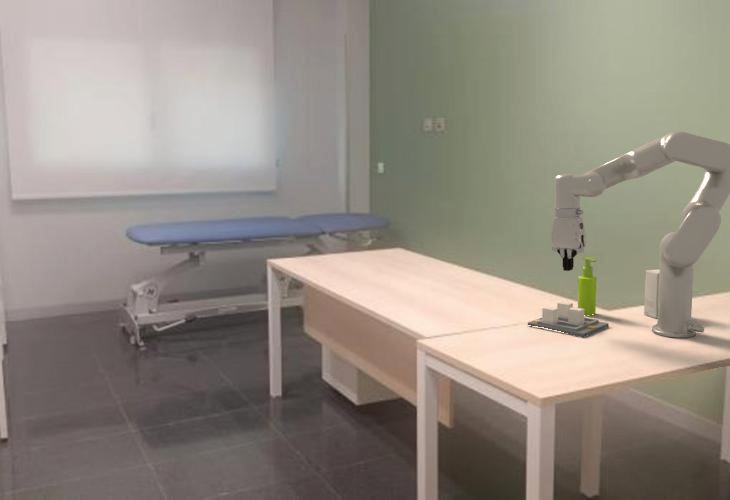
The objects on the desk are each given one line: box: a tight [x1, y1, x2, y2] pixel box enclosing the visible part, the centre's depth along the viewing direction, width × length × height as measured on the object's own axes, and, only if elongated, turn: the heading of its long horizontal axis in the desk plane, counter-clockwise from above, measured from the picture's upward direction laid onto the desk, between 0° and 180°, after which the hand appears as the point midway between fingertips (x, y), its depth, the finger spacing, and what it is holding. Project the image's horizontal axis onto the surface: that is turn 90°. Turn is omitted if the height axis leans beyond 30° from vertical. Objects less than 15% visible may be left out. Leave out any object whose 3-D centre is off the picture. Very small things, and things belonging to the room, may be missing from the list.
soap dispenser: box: [577, 256, 597, 315], centre depth 236 cm, size 6×7×20 cm
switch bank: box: [527, 316, 610, 338], centre depth 223 cm, size 20×16×2 cm
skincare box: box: [643, 269, 660, 319], centre depth 232 cm, size 8×7×16 cm
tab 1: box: [541, 306, 558, 324], centre depth 222 cm, size 4×3×5 cm
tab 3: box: [568, 306, 585, 325], centre depth 221 cm, size 4×3×5 cm
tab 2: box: [556, 301, 574, 318], centre depth 228 cm, size 4×3×5 cm
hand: (568, 269), depth 219 cm, fingers closed
